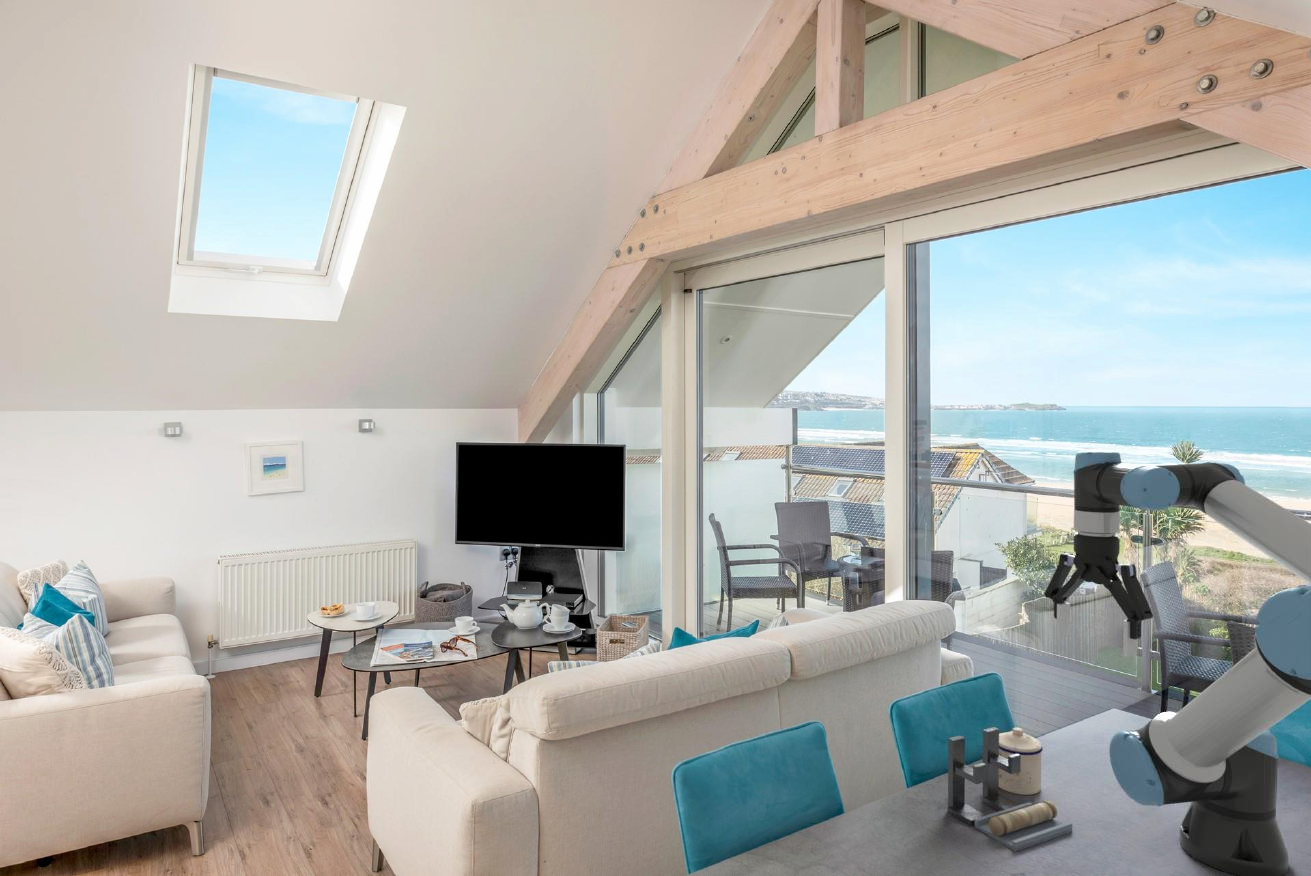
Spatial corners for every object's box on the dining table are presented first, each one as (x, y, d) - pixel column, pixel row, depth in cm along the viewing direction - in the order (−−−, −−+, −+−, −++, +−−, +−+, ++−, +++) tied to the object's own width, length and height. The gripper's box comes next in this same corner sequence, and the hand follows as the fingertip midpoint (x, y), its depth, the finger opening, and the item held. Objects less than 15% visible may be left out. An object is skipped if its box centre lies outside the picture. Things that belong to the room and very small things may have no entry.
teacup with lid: (1021, 773, 170) (1022, 718, 169) (1052, 793, 161) (1053, 735, 160) (971, 779, 167) (971, 724, 166) (1000, 800, 158) (1000, 741, 158)
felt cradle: (1072, 831, 146) (1072, 823, 146) (1015, 851, 140) (1015, 842, 140) (1029, 809, 154) (1030, 801, 154) (974, 827, 148) (974, 819, 148)
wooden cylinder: (1045, 816, 151) (1041, 799, 152) (1059, 819, 148) (1055, 801, 149) (990, 834, 145) (986, 815, 146) (1004, 837, 142) (1000, 818, 143)
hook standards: (1023, 811, 154) (1023, 738, 153) (972, 827, 148) (973, 751, 148) (995, 796, 160) (995, 726, 159) (946, 811, 154) (946, 738, 154)
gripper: (1176, 541, 142) (1174, 661, 142) (1052, 523, 164) (1051, 627, 165) (1149, 544, 138) (1147, 667, 139) (1025, 525, 161) (1025, 631, 162)
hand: (1095, 646), depth 152 cm, fingers open, 13 cm apart
